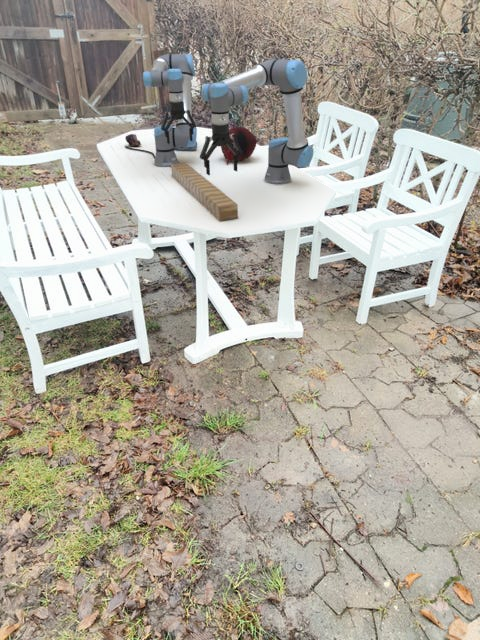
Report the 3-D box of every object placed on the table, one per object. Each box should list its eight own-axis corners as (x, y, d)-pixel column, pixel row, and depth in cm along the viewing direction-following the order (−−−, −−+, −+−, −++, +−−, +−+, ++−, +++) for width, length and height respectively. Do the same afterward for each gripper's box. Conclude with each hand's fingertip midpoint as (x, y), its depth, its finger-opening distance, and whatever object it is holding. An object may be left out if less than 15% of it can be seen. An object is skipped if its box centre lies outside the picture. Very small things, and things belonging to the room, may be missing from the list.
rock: (137, 145, 340) (124, 146, 336) (136, 133, 337) (122, 134, 332) (142, 146, 331) (129, 147, 327) (140, 133, 327) (127, 134, 323)
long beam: (172, 175, 273) (171, 164, 269) (186, 173, 276) (185, 162, 272) (220, 221, 213) (219, 207, 209) (237, 218, 216) (237, 204, 212)
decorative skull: (217, 132, 305) (217, 129, 281) (251, 125, 304) (254, 121, 280) (224, 165, 312) (224, 164, 288) (257, 157, 311) (260, 156, 287)
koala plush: (197, 151, 320) (195, 121, 309) (172, 151, 319) (169, 122, 308) (197, 145, 334) (195, 116, 323) (173, 145, 333) (170, 117, 322)
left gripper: (156, 104, 239) (160, 145, 251) (200, 100, 247) (202, 141, 259) (152, 101, 244) (157, 142, 256) (196, 98, 252) (198, 138, 264)
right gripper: (196, 127, 189) (199, 178, 201) (249, 122, 197) (249, 171, 209) (190, 124, 195) (193, 173, 207) (243, 119, 203) (243, 167, 215)
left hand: (179, 141), depth 258 cm, fingers open, 13 cm apart
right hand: (222, 172), depth 208 cm, fingers open, 13 cm apart
